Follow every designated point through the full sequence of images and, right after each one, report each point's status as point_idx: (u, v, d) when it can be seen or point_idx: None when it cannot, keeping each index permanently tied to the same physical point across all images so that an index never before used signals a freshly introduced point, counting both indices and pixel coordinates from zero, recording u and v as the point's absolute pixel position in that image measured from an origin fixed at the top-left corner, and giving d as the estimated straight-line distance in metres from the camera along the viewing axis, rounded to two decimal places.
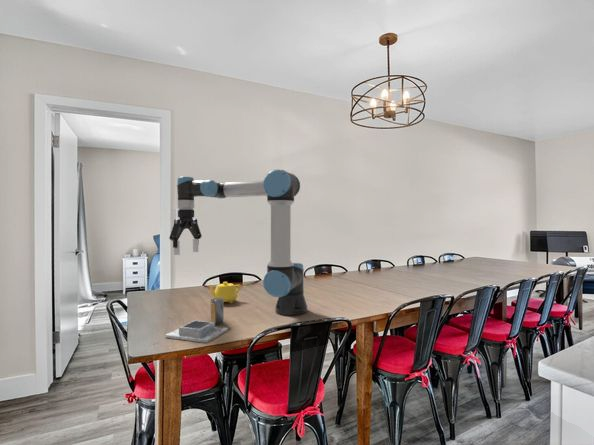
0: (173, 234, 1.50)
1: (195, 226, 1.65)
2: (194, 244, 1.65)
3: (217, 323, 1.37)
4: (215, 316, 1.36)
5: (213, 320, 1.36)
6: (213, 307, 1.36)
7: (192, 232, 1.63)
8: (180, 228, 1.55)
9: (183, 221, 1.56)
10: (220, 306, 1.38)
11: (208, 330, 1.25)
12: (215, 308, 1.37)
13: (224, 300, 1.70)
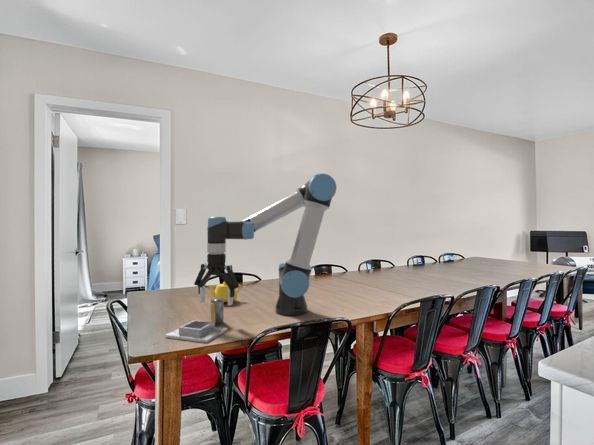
0: None
1: None
2: None
3: (217, 323, 1.37)
4: (215, 316, 1.36)
5: (213, 320, 1.36)
6: (213, 307, 1.36)
7: None
8: None
9: (208, 267, 1.39)
10: (220, 306, 1.38)
11: (208, 330, 1.25)
12: (215, 308, 1.37)
13: (224, 300, 1.70)
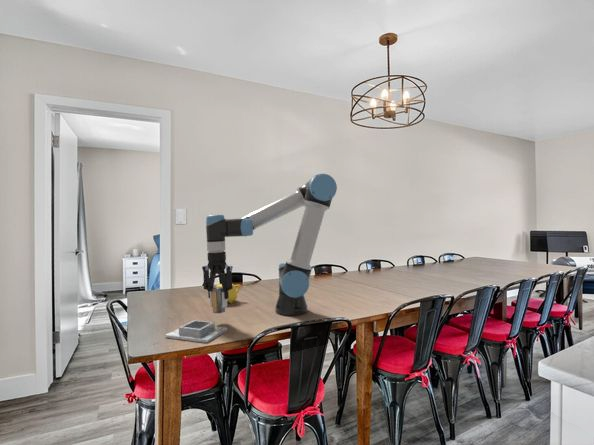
0: None
1: None
2: None
3: (219, 311, 1.37)
4: (216, 304, 1.36)
5: (215, 308, 1.36)
6: (214, 295, 1.36)
7: None
8: None
9: (209, 265, 1.39)
10: (221, 295, 1.38)
11: (208, 330, 1.25)
12: (216, 296, 1.37)
13: None
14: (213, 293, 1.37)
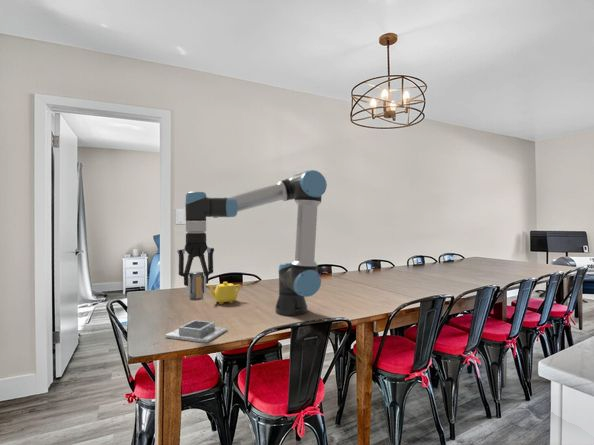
0: (179, 270, 1.22)
1: (209, 256, 1.28)
2: None
3: (201, 298, 1.25)
4: (201, 290, 1.24)
5: (199, 295, 1.24)
6: (199, 280, 1.24)
7: (201, 264, 1.27)
8: (188, 259, 1.24)
9: (188, 248, 1.23)
10: None
11: (208, 330, 1.25)
12: (200, 281, 1.24)
13: (224, 300, 1.70)
14: (198, 278, 1.23)
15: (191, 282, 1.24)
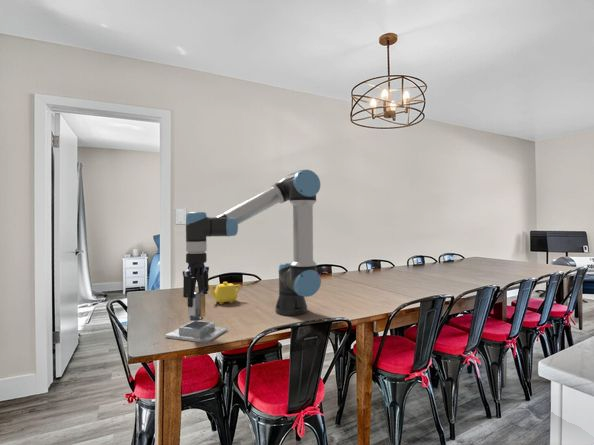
0: (187, 292, 1.20)
1: (204, 275, 1.31)
2: None
3: (203, 316, 1.27)
4: None
5: (204, 314, 1.25)
6: (204, 299, 1.25)
7: (199, 283, 1.28)
8: (192, 280, 1.23)
9: (193, 269, 1.23)
10: None
11: (208, 330, 1.25)
12: None
13: (224, 300, 1.70)
14: (203, 297, 1.25)
15: (195, 302, 1.24)
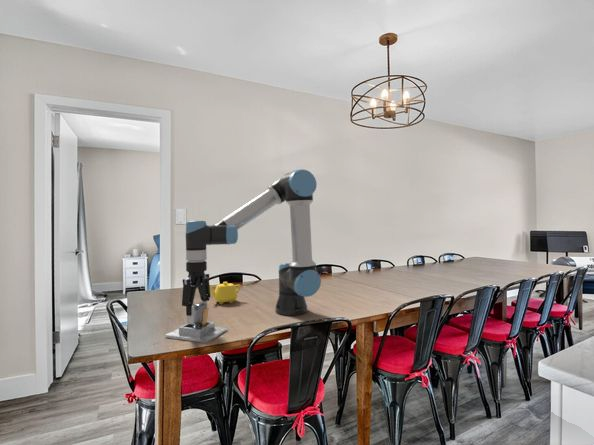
0: (186, 300, 1.19)
1: (205, 282, 1.31)
2: None
3: None
4: None
5: None
6: (207, 312, 1.26)
7: (201, 291, 1.29)
8: (191, 288, 1.23)
9: (193, 277, 1.23)
10: None
11: (208, 330, 1.25)
12: None
13: (224, 300, 1.70)
14: (206, 310, 1.25)
15: (198, 314, 1.24)
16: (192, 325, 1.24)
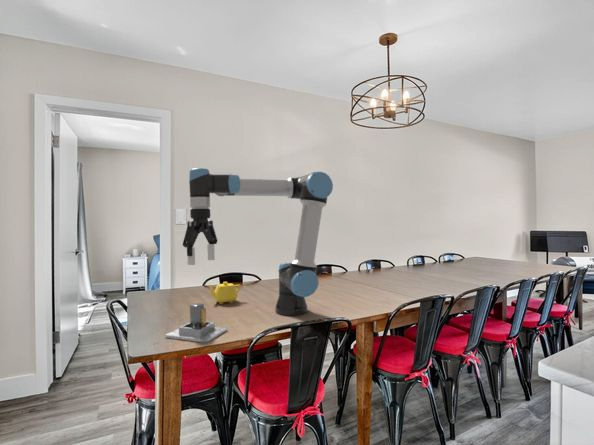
0: (187, 239, 1.21)
1: (210, 229, 1.36)
2: (209, 250, 1.36)
3: None
4: None
5: None
6: (205, 312, 1.25)
7: (207, 236, 1.34)
8: (195, 232, 1.25)
9: (198, 223, 1.26)
10: None
11: (208, 330, 1.25)
12: None
13: (224, 300, 1.70)
14: (204, 310, 1.25)
15: (196, 315, 1.24)
16: (191, 326, 1.24)
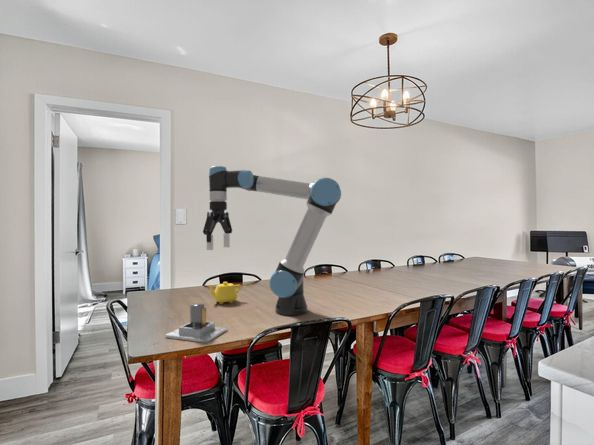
0: (207, 228, 1.39)
1: (226, 220, 1.54)
2: (224, 239, 1.54)
3: None
4: None
5: None
6: (205, 311, 1.26)
7: (223, 226, 1.53)
8: (213, 221, 1.44)
9: (216, 214, 1.45)
10: None
11: (208, 330, 1.25)
12: None
13: (224, 300, 1.70)
14: (204, 309, 1.25)
15: (197, 315, 1.24)
16: (192, 326, 1.24)
